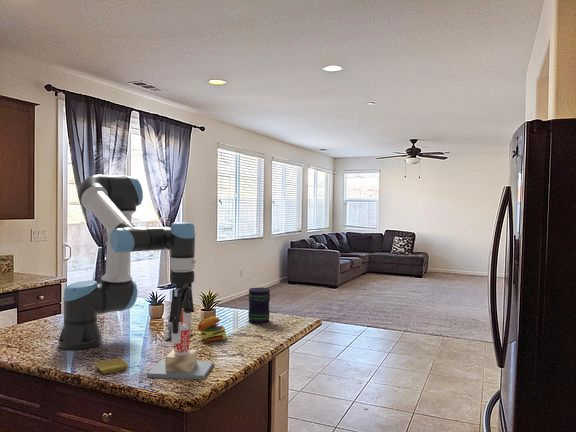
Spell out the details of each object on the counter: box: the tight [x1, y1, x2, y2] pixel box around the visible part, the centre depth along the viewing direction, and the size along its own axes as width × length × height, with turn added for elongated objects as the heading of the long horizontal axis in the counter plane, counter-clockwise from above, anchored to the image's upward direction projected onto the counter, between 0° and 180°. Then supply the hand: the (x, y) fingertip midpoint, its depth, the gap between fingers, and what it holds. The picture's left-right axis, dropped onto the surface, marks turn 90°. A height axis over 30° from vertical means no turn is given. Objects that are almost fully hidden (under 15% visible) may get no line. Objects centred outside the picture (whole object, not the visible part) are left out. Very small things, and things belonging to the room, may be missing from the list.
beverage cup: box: [173, 309, 192, 356], centre depth 151 cm, size 6×6×14 cm
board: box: [146, 359, 214, 380], centre depth 151 cm, size 18×13×1 cm
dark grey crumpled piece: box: [164, 323, 193, 341], centre depth 190 cm, size 12×7×12 cm
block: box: [164, 348, 198, 372], centre depth 151 cm, size 8×8×4 cm
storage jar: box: [247, 287, 271, 325], centre depth 215 cm, size 10×10×15 cm
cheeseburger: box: [197, 315, 227, 342], centre depth 188 cm, size 10×11×10 cm
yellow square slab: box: [94, 357, 129, 375], centre depth 152 cm, size 9×9×2 cm
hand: (181, 337), depth 151 cm, fingers open, 11 cm apart
